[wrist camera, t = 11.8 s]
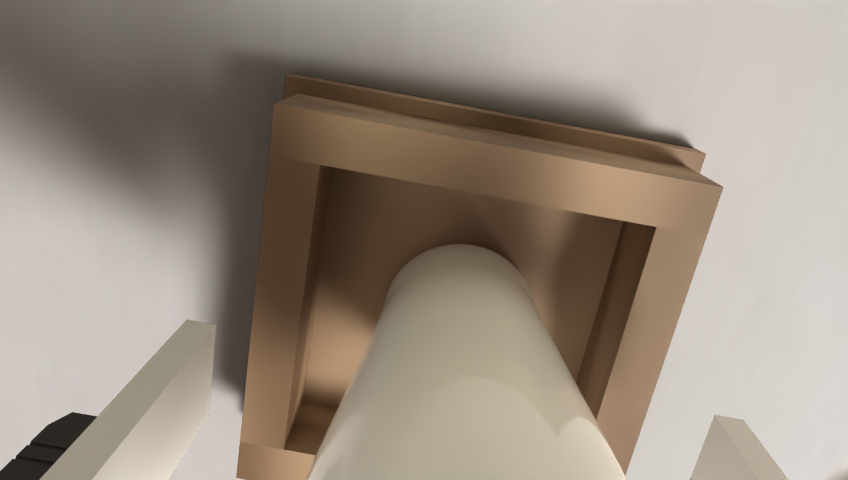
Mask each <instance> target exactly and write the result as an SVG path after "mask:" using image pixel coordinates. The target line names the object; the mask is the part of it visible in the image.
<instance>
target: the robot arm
mask: <svg viewBox="0 0 848 480" xmlns="http://www.w3.org/2000/svg"><path fill="white" fill-rule="evenodd" d="M215 335H216V325H214V324H209V323H203V322H197V321H192V320H186V321H185V322H184V323H183V324H182V325H181V327H180V328H179V329H178V330H177V331H176V332H175V333H174V334H173V335H172V336H171V337H170V338H169V340H168V341H167V342H166V343H165V344H164V345H163V346H162V347H161V348H160V349H159V350H158V351H157V353H156V354H155V355H154V356H153V357H152V358H151V359H150V360H149V361H148V362H147V363H146V365H145V366H144V367H143V368H142V369H141V370H140V371H139V372H138V373H137V374H136V375H135V376H134V378H133V379H132V380H131V381H130V382H129V383H128V384H127V385H126V386H125V387H124V388H123V389H122V391H121V392H120V393H119V394H118V395H117V396H116V397H115V398H114V399H113V400H112V401H111V403H110V404H109V405H108V406H107V407H106V408H105V409H104V410H103V411H102V412H101V413H100V414H99V416H98V417H96V416H91V415H85V414H79V413H74V412H72V413H70V414H68V415H66V416H64V417H62V418H60V419H59V420H57V421H55V422H53V423H51V424H49V425H47V426H46V427H45V428H44V429H43V430H42V431H41V432H40V433H39V434H38V435H37V436H36V437H35V438H34V439H33V440H32V441H31V443H30V445H27V446H26V447H25V448H24V449H23V450H22V451H21V452H20V453H19V454H18V455H17V456H16V459H12V460H11V461H10V462H9V463H8V464H7V465H6V466H5V467H4V468H3V469H2V470H1V471H0V480H168V479H169V478H170V476H171V475H172V473H173V472H174V470H175V468H176V467H177V465H178V464H179V462H180V460H181V459H182V457H183V456H184V454H185V453H186V451H187V449H188V448H189V446H190V445H191V443H192V442H193V440H194V438H195V437H196V435H197V434H198V432H199V430H200V429H201V427H202V426H203V424H204V423H205V421H206V419H207V418H208V416H209V410H210V397H211V385H212V373H213V360H214V348H215ZM690 480H788V479H787V477H786V476H785V475H784V473H783V472H782V471H781V469H780V468H779V467H778V465H777V464H776V463H775V461H774V460H773V459H772V457H771V456H770V455H769V453H768V452H767V451H766V449H765V448H764V447H763V445H762V444H761V443H760V441H759V440H758V439H757V437H756V436H755V435H754V433H753V432H752V431H751V429H750V428H749V427H748V425H747V424H746V423H745V421H744V420H741V419H735V418H729V417H724V416H718V415H714V418H713V421H712V423H711V426H710V429H709V431H708V434H707V436H706V439H705V442H704V444H703V447H702V450H701V452H700V455H699V457H698V460H697V463H696V465H695V468H694V471H693V473H692V476H691V478H690Z"/></svg>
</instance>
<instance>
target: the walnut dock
mask: <svg viewBox="0 0 848 480" xmlns="http://www.w3.org/2000/svg"><path fill="white" fill-rule="evenodd" d="M705 155H706V154H705V153H703V152H701V151H699V150H697V149H694V148H689V147H683V146H678V145H673V144H667V143H662V142H657V141H651V140H646V139H641V138H635V137H630V136H625V135H619V134H614V133H609V132H603V131H598V130H593V129H587V128H582V127H576V126H571V125H566V124H560V123H555V122H550V121H544V120H539V119H534V118H528V117H523V116H518V115H512V114H507V113H502V112H496V111H491V110H486V109H480V108H475V107H470V106H464V105H459V104H454V103H448V102H443V101H438V100H432V99H427V98H422V97H416V96H411V95H405V94H400V93H395V92H389V91H384V90H379V89H373V88H368V87H363V86H357V85H352V84H347V83H341V82H336V81H331V80H325V79H320V78H315V77H309V76H304V75H299V74H293V73H292V74H288V75H285V82H284V92H283V100H282V101H279V102H277V103H274V109H273V119H272V129H271V139H270V149H269V159H268V169H267V179H266V189H265V199H264V209H263V219H262V228H261V238H260V248H259V258H258V268H257V278H256V288H255V298H254V308H253V318H252V328H251V338H250V347H249V357H248V367H247V377H246V387H245V397H244V407H243V417H242V427H241V437H240V447H239V457H238V466H237V476H236V478H241V479H246V480H306V477H307V475H308V472H309V470H310V468H311V465H312V463H313V460H314V458H315V456H316V454H317V451H318V449H319V447H320V445H321V442H322V440H323V438H324V436H325V434H326V431H327V429H328V427H329V425H330V423H331V421H332V419H333V416H334V414H335V412H336V410H337V408H338V406H339V404H340V401H341V399H342V397H343V395H344V393H345V391H346V389H347V387H348V384H349V382H350V380H351V378H352V376H353V374H354V372H355V369H356V367H357V365H358V363H359V361H360V359H361V356H362V354H363V352H364V350H365V348H366V345H367V343H368V341H369V339H370V337H371V334H372V332H373V330H374V328H375V325H376V323H377V321H378V319H379V316H380V314H381V312H382V308H383V304H384V300H385V296H386V293H387V291H388V288H389V286H390V284H391V282H392V280H393V279H394V277H395V276H396V274H397V273H398V272H399V271H400V270H401V268H402V267H403V266H404V265H405V264H406V263H408V262H409V261H410V260H411V259H413V258H414V257H416V256H417V255H419V254H421V253H423V252H424V251H427V250H429V249H431V248H435V247H438V246H442V245H447V244H471V245H476V246H480V247H484V248H486V249H489V250H492V251H494V252H496V253H498V254H499V255H501V256H503V257H504V258H506V259H507V260H508V261H510V262H511V263H512V264H513V265H514V266H515V267H516V268H517V269H518V270H519V272H520V273H521V274H522V275H523V277H524V278H525V280H526V282H527V283H528V285H529V287H530V290H531V292H532V294H533V298H534V301H535V304H536V307H537V310H538V312H539V314H540V316H541V318H542V319H543V321H544V323H545V325H546V327H547V329H548V331H549V333H550V335H551V337H552V339H553V341H554V343H555V344H556V346H557V348H558V350H559V352H560V354H561V356H562V358H563V359H564V361H565V363H566V365H567V367H568V369H569V371H570V373H571V374H572V376H573V378H574V380H575V382H576V384H577V386H578V387H579V389H580V391H581V393H582V395H583V397H584V398H585V400H586V402H587V404H588V406H589V408H590V410H591V411H592V413H593V415H594V417H595V419H596V421H597V423H598V424H599V426H600V428H601V430H602V432H603V434H604V436H605V437H606V439H607V441H608V443H609V445H610V447H611V449H612V451H613V453H614V455H615V457H616V459H617V461H618V463H619V465H620V467H621V469H622V471H623V473H624V475H626V472H627V469H628V466H629V463H630V460H631V457H632V454H633V451H634V448H635V445H636V442H637V439H638V437H639V434H640V431H641V428H642V425H643V422H644V419H645V416H646V413H647V410H648V407H649V404H650V401H651V398H652V395H653V392H654V390H655V387H656V384H657V381H658V378H659V375H660V372H661V369H662V366H663V363H664V360H665V357H666V354H667V351H668V348H669V345H670V343H671V340H672V337H673V334H674V331H675V328H676V325H677V322H678V319H679V316H680V313H681V310H682V307H683V304H684V301H685V298H686V296H687V293H688V290H689V287H690V284H691V281H692V278H693V275H694V272H695V269H696V266H697V263H698V260H699V257H700V254H701V251H702V249H703V246H704V243H705V240H706V237H707V234H708V231H709V228H710V225H711V222H712V219H713V216H714V213H715V210H716V207H717V204H718V202H719V199H720V196H721V193H722V190H723V187H722V186H720V185H719V184H717V183H715V182H713V181H712V180H710V179H708V178H706V177H705V176H703V175H701V174H700V171H701V168H702V164H703V161H704V158H705Z"/></svg>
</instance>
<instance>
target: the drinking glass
mask: <svg viewBox="0 0 848 480" xmlns="http://www.w3.org/2000/svg"><path fill="white" fill-rule="evenodd" d="M306 480H627V479H626V477H625V475H624V473H623V471H622V469H621V467H620V465H619V463H618V461H617V459H616V457H615V455H614V453H613V451H612V449H611V447H610V445H609V443H608V441H607V439H606V437H605V436H604V434H603V432H602V430H601V428H600V426H599V424H598V423H597V421H596V419H595V417H594V415H593V413H592V411H591V410H590V408H589V406H588V404H587V402H586V400H585V398H584V397H583V395H582V393H581V391H580V389H579V387H578V386H577V384H576V382H575V380H574V378H573V376H572V374H571V373H570V371H569V369H568V367H567V365H566V363H565V361H564V359H563V358H562V356H561V354H560V352H559V350H558V348H557V346H556V344H555V343H554V341H553V339H552V337H551V335H550V333H549V331H548V329H547V327H546V325H545V323H544V321H543V319H542V318H541V316H540V314H539V312H538V310H537V307H536V304H535V301H534V298H533V294H532V292H531V290H530V287H529V285H528V283H527V282H526V280H525V278H524V277H523V275H522V274H521V273H520V272H519V270H518V269H517V268H516V267H515V266H514V265H513V264H512V263H511V262H510V261H508V260H507V259H506V258H504V257H503V256H501V255H499V254H498V253H496V252H494V251H492V250H489V249H486V248H484V247H480V246H476V245H471V244H447V245H442V246H438V247H435V248H431V249H429V250H427V251H424V252H423V253H421V254H419V255H417V256H416V257H414V258H413V259H411V260H410V261H409V262H408V263H406V264H405V265H404V266H403V267H402V268H401V270H400V271H399V272H398V273H397V274H396V276H395V277H394V279H393V280H392V282H391V284H390V286H389V288H388V291H387V293H386V296H385V300H384V304H383V308H382V312H381V314H380V316H379V319H378V321H377V323H376V325H375V328H374V330H373V332H372V334H371V337H370V339H369V341H368V343H367V345H366V348H365V350H364V352H363V354H362V356H361V359H360V361H359V363H358V365H357V367H356V369H355V372H354V374H353V376H352V378H351V380H350V382H349V384H348V387H347V389H346V391H345V393H344V395H343V397H342V399H341V401H340V404H339V406H338V408H337V410H336V412H335V414H334V416H333V419H332V421H331V423H330V425H329V427H328V429H327V431H326V434H325V436H324V438H323V440H322V442H321V445H320V447H319V449H318V451H317V454H316V456H315V458H314V460H313V463H312V465H311V468H310V470H309V472H308V475H307V477H306Z"/></svg>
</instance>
